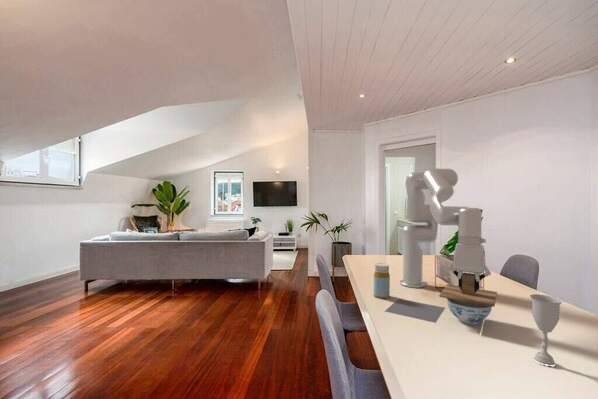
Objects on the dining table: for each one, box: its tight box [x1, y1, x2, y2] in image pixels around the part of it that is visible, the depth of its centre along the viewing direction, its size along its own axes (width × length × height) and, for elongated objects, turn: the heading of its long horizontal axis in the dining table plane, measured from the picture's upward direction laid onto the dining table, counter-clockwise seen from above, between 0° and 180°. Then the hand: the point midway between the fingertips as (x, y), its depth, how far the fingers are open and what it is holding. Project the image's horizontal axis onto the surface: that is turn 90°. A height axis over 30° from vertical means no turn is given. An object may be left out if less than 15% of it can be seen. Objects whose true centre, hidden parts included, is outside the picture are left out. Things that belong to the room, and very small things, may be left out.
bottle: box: [373, 262, 391, 300], centre depth 142 cm, size 7×7×15 cm
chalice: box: [529, 294, 563, 365], centre depth 87 cm, size 7×7×18 cm
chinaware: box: [445, 298, 493, 325], centre depth 115 cm, size 15×15×8 cm
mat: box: [384, 298, 446, 323], centre depth 126 cm, size 19×19×1 cm
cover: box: [438, 272, 498, 308], centre depth 115 cm, size 17×17×8 cm
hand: (468, 289), depth 115 cm, fingers closed on cover, 4 cm apart
